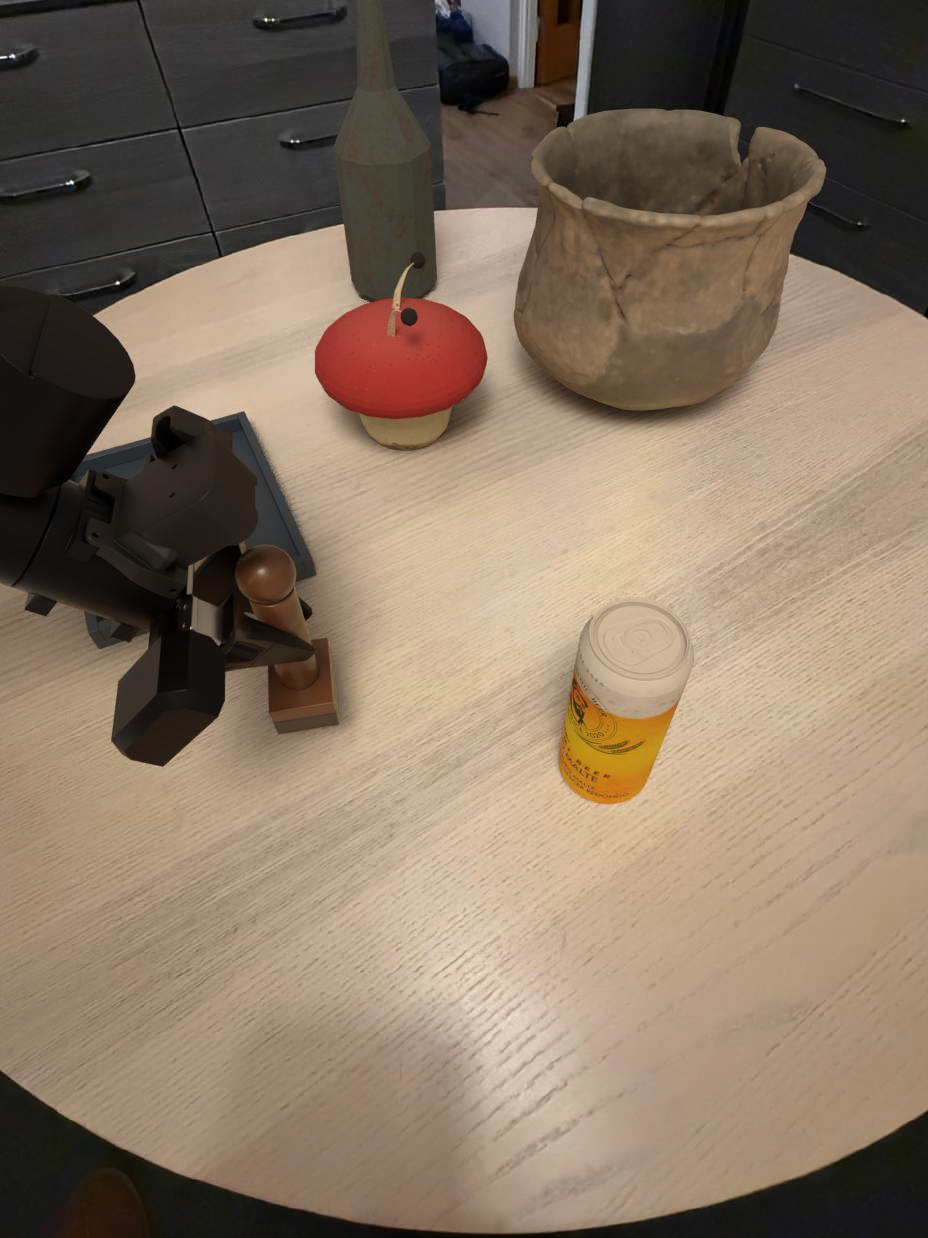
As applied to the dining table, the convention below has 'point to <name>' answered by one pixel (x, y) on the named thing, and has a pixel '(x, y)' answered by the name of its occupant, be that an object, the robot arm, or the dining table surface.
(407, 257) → the bottle
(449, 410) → the mushroom
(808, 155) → the pot
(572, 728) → the beer can
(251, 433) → the tray
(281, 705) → the wooden ball stamp
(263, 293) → the dining table surface
